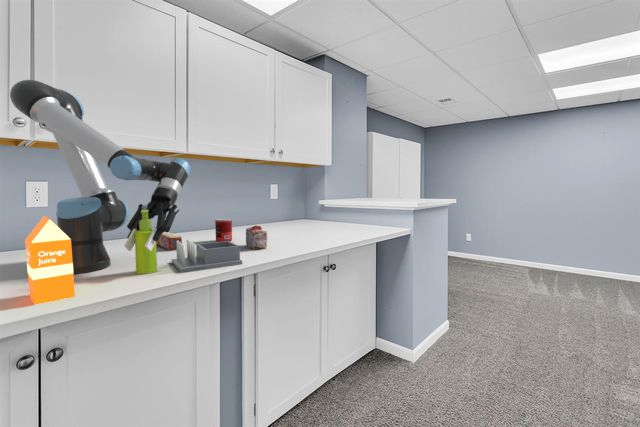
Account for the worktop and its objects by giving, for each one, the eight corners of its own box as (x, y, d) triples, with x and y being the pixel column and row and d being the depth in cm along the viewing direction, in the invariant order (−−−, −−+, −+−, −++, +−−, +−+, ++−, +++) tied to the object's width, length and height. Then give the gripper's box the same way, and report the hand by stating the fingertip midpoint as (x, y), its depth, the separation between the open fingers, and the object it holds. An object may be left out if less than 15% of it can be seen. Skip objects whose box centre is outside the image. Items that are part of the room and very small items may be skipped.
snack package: (183, 249, 137) (183, 234, 137) (167, 251, 133) (166, 236, 132) (167, 243, 153) (166, 229, 152) (152, 244, 148) (151, 230, 148)
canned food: (234, 239, 161) (234, 218, 160) (228, 242, 153) (227, 220, 152) (219, 239, 162) (219, 218, 161) (213, 242, 154) (212, 219, 153)
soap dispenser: (135, 275, 97) (133, 210, 95) (136, 270, 103) (134, 208, 101) (156, 273, 100) (155, 210, 98) (156, 268, 106) (155, 208, 104)
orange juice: (34, 305, 74) (27, 219, 72) (29, 296, 79) (22, 217, 78) (75, 296, 79) (70, 217, 78) (68, 288, 85) (62, 214, 83)
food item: (269, 249, 139) (269, 226, 138) (251, 251, 135) (251, 228, 134) (259, 244, 151) (259, 223, 150) (242, 245, 147) (242, 224, 146)
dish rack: (180, 272, 101) (179, 247, 100) (171, 262, 114) (170, 240, 113) (242, 264, 112) (241, 241, 111) (227, 255, 125) (227, 235, 125)
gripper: (196, 201, 114) (171, 256, 99) (146, 200, 116) (115, 254, 101) (187, 186, 108) (161, 242, 93) (135, 186, 110) (101, 240, 95)
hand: (137, 248), depth 97 cm, fingers closed on soap dispenser, 6 cm apart
